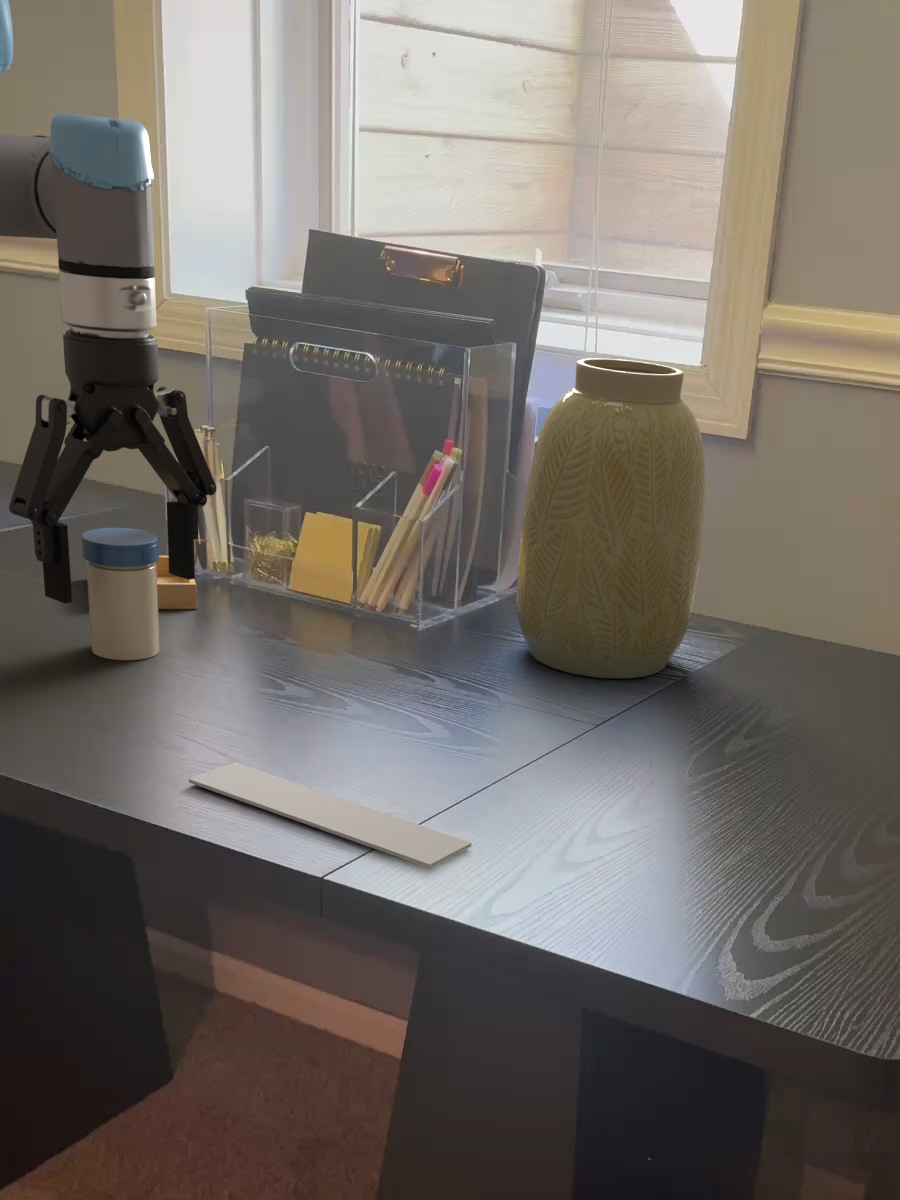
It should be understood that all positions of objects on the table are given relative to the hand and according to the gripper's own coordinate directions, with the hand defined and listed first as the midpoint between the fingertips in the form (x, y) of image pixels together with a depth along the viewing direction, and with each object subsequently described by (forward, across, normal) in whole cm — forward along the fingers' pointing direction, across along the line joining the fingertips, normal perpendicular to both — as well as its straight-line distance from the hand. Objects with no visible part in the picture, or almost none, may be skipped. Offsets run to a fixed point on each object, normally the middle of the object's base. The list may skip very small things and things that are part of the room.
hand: (122, 587), depth 131 cm
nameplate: (+6, -13, -38) cm, 41 cm away
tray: (+6, +13, +14) cm, 20 cm away
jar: (+6, 0, 0) cm, 6 cm away
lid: (-4, 0, 0) cm, 4 cm away
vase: (+6, +34, -29) cm, 45 cm away
